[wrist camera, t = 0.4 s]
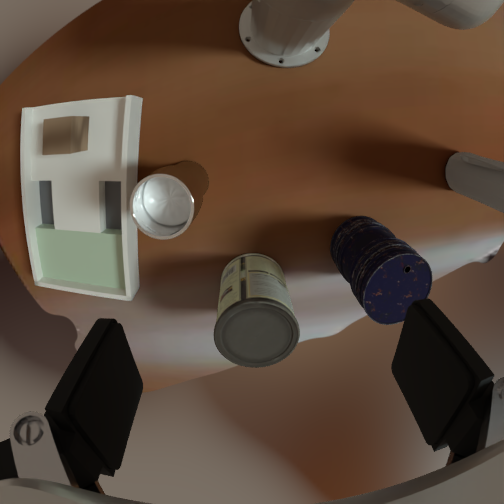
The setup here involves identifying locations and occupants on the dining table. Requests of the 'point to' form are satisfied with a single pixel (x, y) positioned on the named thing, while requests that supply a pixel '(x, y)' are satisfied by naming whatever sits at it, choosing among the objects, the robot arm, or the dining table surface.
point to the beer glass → (169, 199)
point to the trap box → (83, 199)
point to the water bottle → (477, 178)
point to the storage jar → (380, 269)
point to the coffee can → (255, 313)
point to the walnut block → (65, 135)
